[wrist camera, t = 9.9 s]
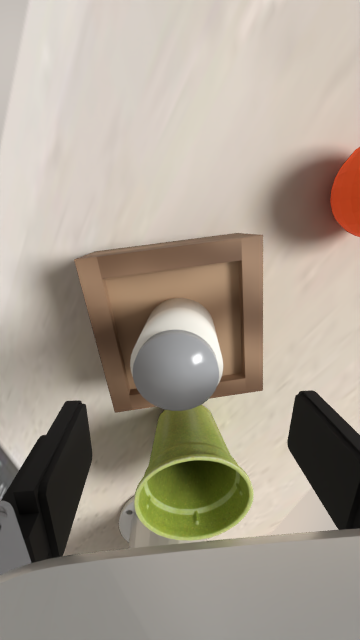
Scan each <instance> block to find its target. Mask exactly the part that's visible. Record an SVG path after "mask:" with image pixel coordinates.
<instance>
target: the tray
mask: <svg viewBox="0 0 360 640" xmlns="http://www.w3.org/2000/svg"><path fill="white" fill-rule="evenodd" d="M74 261H75V265H76V269H77V272H78V276H79V280H80V284H81V287H82V291H83V295H84V298H85V302H86V306H87V310H88V313H89V317H90V321H91V325H92V328H93V332H94V336H95V340H96V343H97V347H98V351H99V355H100V358H101V362H102V366H103V370H104V373H105V377H106V381H107V385H108V388H109V392H110V396H111V400H112V403H113V407H114V411H115V413H116V412H122V411H129V410H136V409H142V408H149V407H156V406H154V405H153V404H151V403H150V402H148V401H147V400H146V399H145V398H144V397H143V396H142V395H141V394H140V393H139V391H138V390H137V388H136V386H135V383H134V380H133V376H132V373H131V367H130V360H131V354H132V351H133V349H134V347H135V345H136V343H137V341H138V339H139V336H140V334H141V332H142V330H143V328H144V326H145V324H146V322H147V320H148V318H149V316H150V314H151V312H152V311H153V310H154V308H155V307H156V306H158V305H159V304H160V303H162V302H164V301H166V300H169V299H172V298H187V299H191V300H194V301H196V302H198V303H200V304H201V305H202V306H204V307H205V308H206V309H207V311H208V312H209V313H210V315H211V317H212V319H213V323H214V327H215V331H216V335H217V339H218V343H219V347H220V351H221V355H222V359H223V373H222V377H221V380H220V382H219V384H218V385H217V387H216V389H215V391H214V393H213V394H212V396H211V397H210V398H216V397H222V396H229V395H235V394H242V393H249V392H255V391H262V390H263V235H255V234H242V233H235V234H227V235H220V236H212V237H204V238H196V239H189V240H181V241H173V242H166V243H158V244H150V245H142V246H135V247H127V248H119V249H111V250H104V251H96V252H93V253H90V254H88V255H85V256H83V257H80V258H77V259H75V260H74Z"/></svg>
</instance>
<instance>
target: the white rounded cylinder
mask: <svg viewBox="0 0 360 640" xmlns="http://www.w3.org/2000/svg"><path fill="white" fill-rule="evenodd" d="M130 367H131V373H132V376H133V380H134V383H135V386H136V388H137V390H138V391H139V393H140V394H141V395H142V396H143V397H144V398H145V399H146V400H147V401H148V402H150V403H151V404H153V405H154V406H157V407H159V408H162V409H165V410H171V411H184V410H189V409H192V408H195V407H197V406H199V405H201V404H203V403H204V402H206V401H207V400H208V399H209V398H210V397H211V396H212V394H213V393H214V391H215V389H216V387H217V385H218V384H219V382H220V380H221V377H222V373H223V359H222V355H221V351H220V347H219V343H218V339H217V335H216V331H215V327H214V323H213V319H212V317H211V315H210V313H209V312H208V311H207V309H206V308H205V307H204V306H202V305H201V304H200V303H198V302H196V301H194V300H191V299H187V298H172V299H169V300H166V301H164V302H162V303H160V304H159V305H158V306H156V307H155V308H154V310H153V311H152V312H151V314H150V316H149V318H148V320H147V322H146V324H145V326H144V328H143V330H142V332H141V334H140V336H139V339H138V341H137V343H136V345H135V347H134V349H133V351H132V354H131V360H130Z"/></svg>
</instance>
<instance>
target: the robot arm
mask: <svg viewBox="0 0 360 640" xmlns="http://www.w3.org/2000/svg"><path fill="white" fill-rule="evenodd" d="M288 448H289V450H290V452H291V454H292V455H293V457H294V458H295V460H296V462H297V463H298V465H299V467H300V468H301V470H302V471H303V473H304V475H305V476H306V478H307V480H308V481H309V483H310V484H311V486H312V488H313V489H314V491H315V492H316V494H317V496H318V497H319V499H320V501H321V502H322V504H323V505H324V507H325V509H326V510H327V512H328V514H329V515H330V517H331V518H332V520H333V522H334V523H335V525H336V527H337V528H338V529H339V530H331V531H319V532H308V533H307V532H306V533H295V534H282V535H270V536H259V537H247V538H236V539H225V540H213V541H207V539H201V540H193V541H187V540H175V539H169V538H165V537H163V536H160V535H157V534H156V533H154V532H152V531H151V530H149V529H148V528H147V527H145V526H144V524H143V523H141V521H140V520H139V518H138V516H137V514H136V511H135V508H134V497H135V496H133V497H132V498H131V499H130V500H129V501H128V502H127V503H126V504H125V505H124V507H123V508H122V510H121V513H120V517H119V530H120V532H121V535H122V536H123V537H124V539H125V540H126V541H127V542H128V543H129V548H128V549H118V550H110V551H101V552H92V553H83V554H75V555H68V556H63V557H62V555H63V553H64V550H65V547H66V544H67V541H68V537H69V534H70V531H71V528H72V524H73V521H74V518H75V514H76V511H77V508H78V505H79V501H80V498H81V495H82V491H83V488H84V485H85V482H86V478H87V475H88V472H89V468H90V465H91V462H92V447H91V440H90V432H89V425H88V417H87V409H86V405H85V404H82V403H81V401H66V402H65V403H64V405H63V407H62V409H61V410H60V412H59V414H58V415H57V417H56V419H55V421H54V422H53V424H52V426H51V428H50V429H49V431H48V433H47V435H42V436H41V437H40V438H39V439H38V440H37V442H36V444H35V445H34V447H33V449H32V450H31V452H30V454H29V455H28V457H27V459H26V460H25V462H24V463H23V465H22V467H21V468H20V470H19V472H18V473H17V475H16V477H15V478H14V480H13V482H12V483H11V485H10V487H9V488H8V490H7V492H6V493H5V495H4V497H3V498H2V500H1V501H0V640H360V435H359V434H358V433H357V432H356V431H355V430H354V429H353V428H352V427H351V426H350V425H349V424H348V423H347V422H346V421H345V420H344V419H343V418H342V417H341V416H340V415H339V414H338V413H337V412H336V411H335V410H334V409H333V408H332V407H331V406H330V405H328V404H327V403H326V402H325V401H324V400H323V399H322V398H321V397H320V396H319V395H318V394H317V393H316V392H315V391H300V392H299V394H298V395H296V397H295V401H294V407H293V413H292V419H291V424H290V430H289V436H288Z"/></svg>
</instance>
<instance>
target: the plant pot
mask: <svg viewBox="0 0 360 640" xmlns="http://www.w3.org/2000/svg"><path fill="white" fill-rule="evenodd" d="M252 502H253V487H252V484H251V481H250V479H249V477H248V476H247V474H246V473H245V472H244V470H243V469H242V468H240V467H239V466H238V465H237V463H236V461H235V460H234V459H233V458H232V456H231V455H230V453H229V451H228V449H227V447H226V444H225V442H224V440H223V438H222V436H221V434H220V432H219V429H218V427H217V425H216V423H215V421H214V419H213V416H212V414H211V412H210V411H209V410H208V409H207V408H205V407H204V406H203V405H199V406H197V407H195V408H192V409H189V410H184V411H171V410H165V411H164V412H162V413H161V414H160V416H159V419H158V423H157V427H156V433H155V438H154V443H153V447H152V452H151V457H150V462H149V466H148V468H147V470H146V472H145V475H144V477H143V478H142V480H141V481H140V483H139V485H138V487H137V489H136V492H135V497H134V508H135V511H136V514H137V516H138V518H139V520H140V521H141V523H143V524H144V526H145V527H147V528H148V529H149V530H151V531H152V532H154V533H156V534H157V535H160V536H163V537H165V538H169V539H175V540H187V541H193V540H201V539H207V538H211V537H213V536H216V535H219V534H221V533H223V532H226V531H227V530H229V529H230V528H232V527H234V526H235V525H236V524H238V523H239V522H240V521H241V520H242V519H243V518H244V517H245V515H246V514H247V512H248V511H249V509H250V507H251V504H252Z"/></svg>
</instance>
